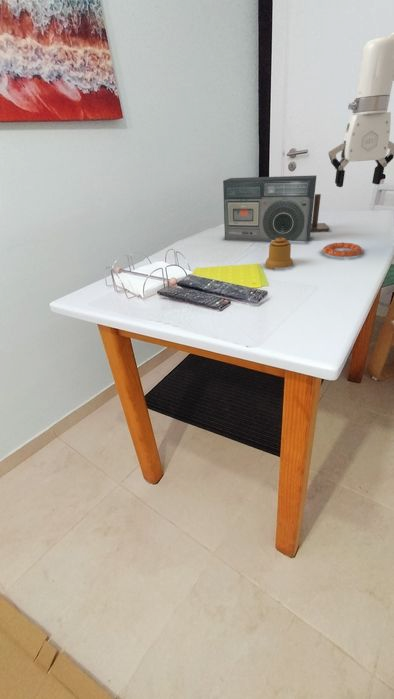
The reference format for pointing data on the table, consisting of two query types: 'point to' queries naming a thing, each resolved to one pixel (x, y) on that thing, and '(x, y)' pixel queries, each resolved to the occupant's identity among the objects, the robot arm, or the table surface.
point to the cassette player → (268, 208)
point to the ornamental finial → (279, 254)
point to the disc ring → (353, 252)
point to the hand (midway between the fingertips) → (357, 185)
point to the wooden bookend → (315, 225)
